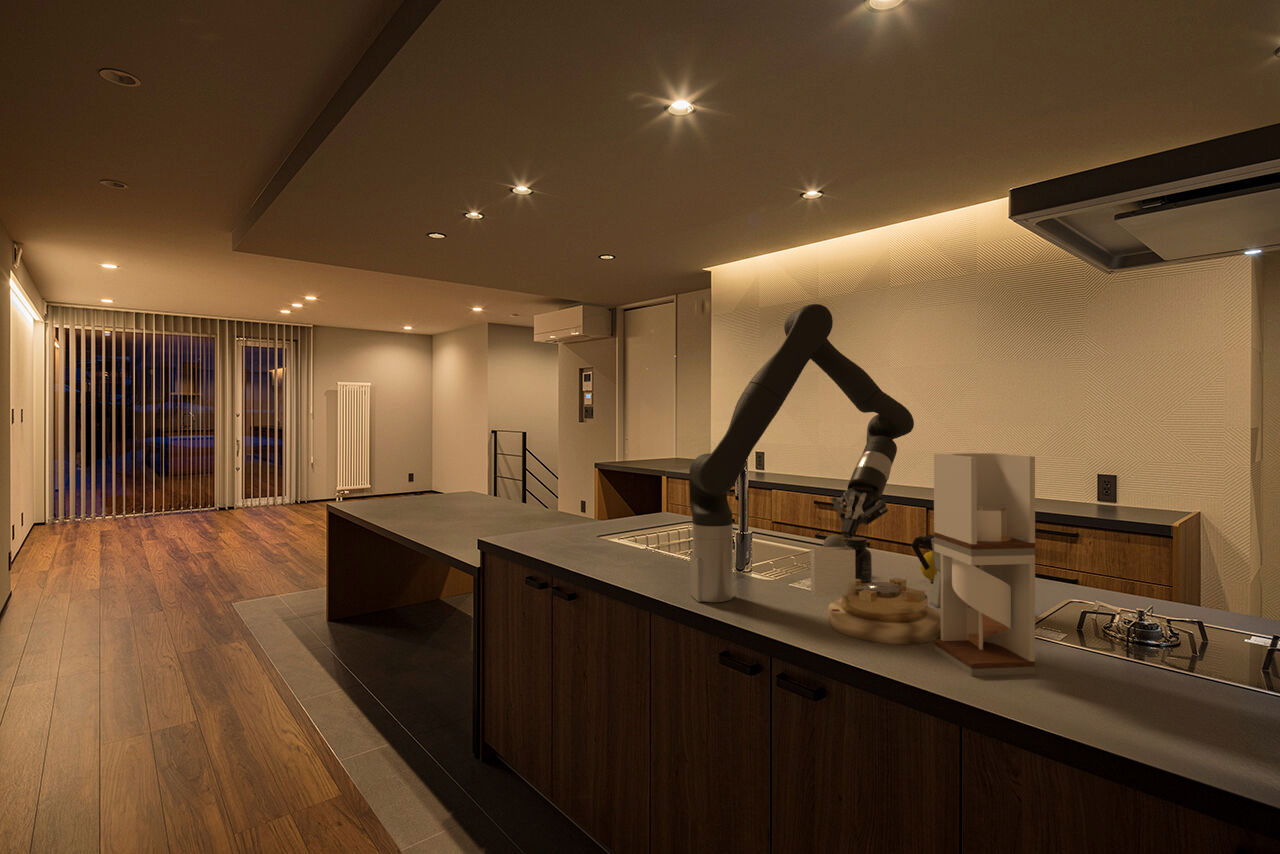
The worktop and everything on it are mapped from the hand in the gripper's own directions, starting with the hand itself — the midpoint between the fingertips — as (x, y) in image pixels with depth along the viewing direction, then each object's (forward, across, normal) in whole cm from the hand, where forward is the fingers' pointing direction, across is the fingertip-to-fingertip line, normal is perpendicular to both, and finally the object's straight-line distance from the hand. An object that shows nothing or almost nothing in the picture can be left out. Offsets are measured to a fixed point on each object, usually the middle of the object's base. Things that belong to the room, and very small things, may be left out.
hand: (846, 536), depth 141 cm
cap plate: (+15, +10, +7) cm, 20 cm away
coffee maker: (-2, +15, +24) cm, 28 cm away
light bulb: (-10, -18, +33) cm, 39 cm away
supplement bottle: (-2, -6, +25) cm, 26 cm away
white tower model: (+21, +31, +2) cm, 37 cm away
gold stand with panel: (+14, +8, +3) cm, 17 cm away
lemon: (-15, +6, +37) cm, 40 cm away
